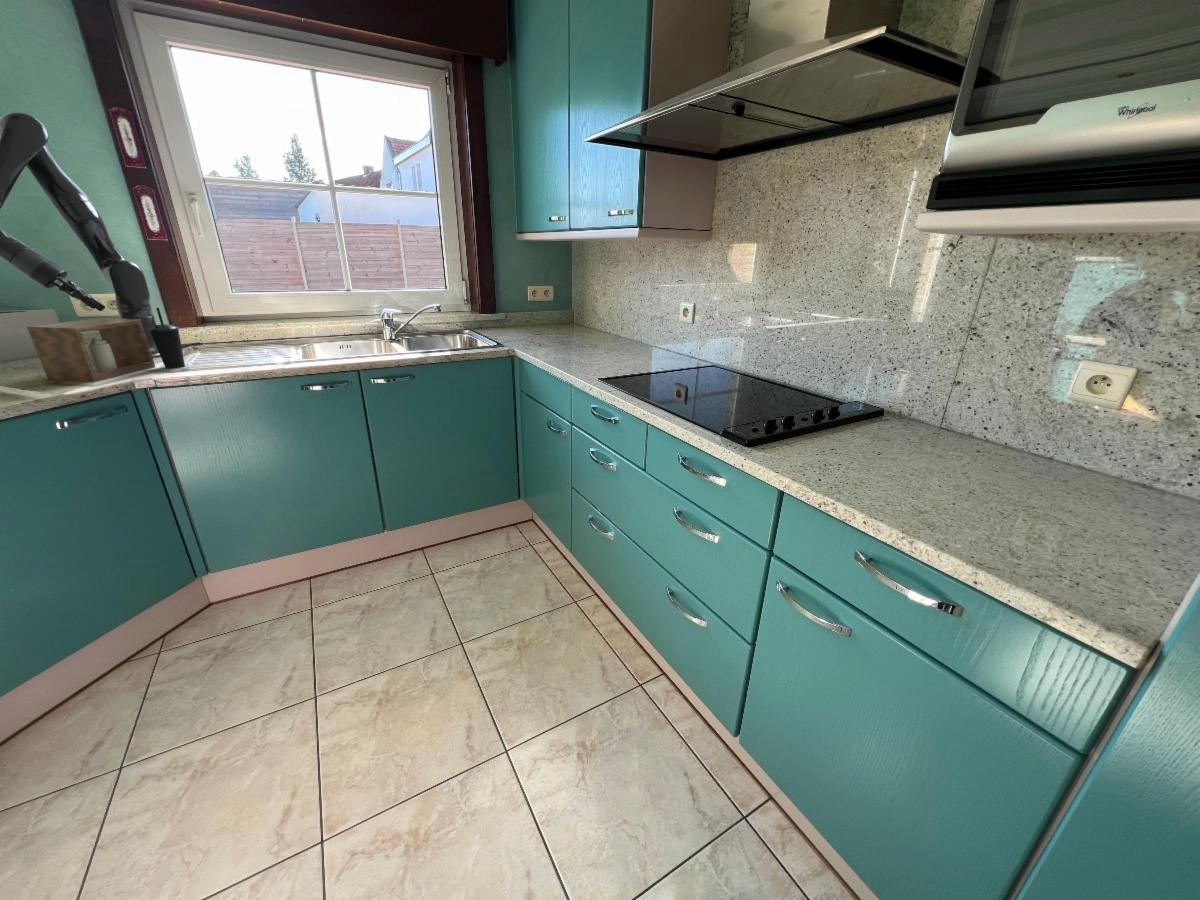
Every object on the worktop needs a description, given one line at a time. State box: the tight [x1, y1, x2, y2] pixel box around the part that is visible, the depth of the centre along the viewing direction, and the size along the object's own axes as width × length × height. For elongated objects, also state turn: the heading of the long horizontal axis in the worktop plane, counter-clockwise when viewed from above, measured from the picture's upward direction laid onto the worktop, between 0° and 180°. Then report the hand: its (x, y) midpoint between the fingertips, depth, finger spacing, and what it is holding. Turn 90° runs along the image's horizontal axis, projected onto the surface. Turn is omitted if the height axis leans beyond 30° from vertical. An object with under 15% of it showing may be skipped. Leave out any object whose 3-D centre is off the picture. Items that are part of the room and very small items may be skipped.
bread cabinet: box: [26, 317, 156, 383], centre depth 149 cm, size 14×20×16 cm
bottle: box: [85, 336, 118, 373], centre depth 149 cm, size 5×5×11 cm
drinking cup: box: [148, 307, 186, 370], centre depth 158 cm, size 8×8×20 cm
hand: (100, 308), depth 158 cm, fingers open, 8 cm apart
